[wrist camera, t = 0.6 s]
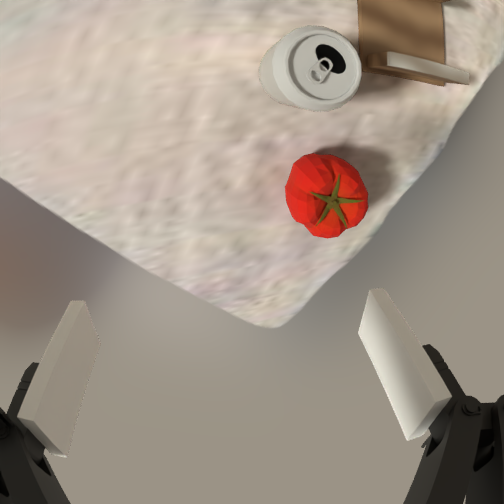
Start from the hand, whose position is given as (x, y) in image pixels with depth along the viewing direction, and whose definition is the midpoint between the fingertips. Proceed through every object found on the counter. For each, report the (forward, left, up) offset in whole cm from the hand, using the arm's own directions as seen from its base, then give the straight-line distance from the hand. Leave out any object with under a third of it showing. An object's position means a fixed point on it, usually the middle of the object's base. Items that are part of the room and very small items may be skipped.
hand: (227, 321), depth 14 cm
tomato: (+1, +11, -25) cm, 27 cm away
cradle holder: (-20, +22, -25) cm, 38 cm away
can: (-12, +8, -25) cm, 29 cm away
